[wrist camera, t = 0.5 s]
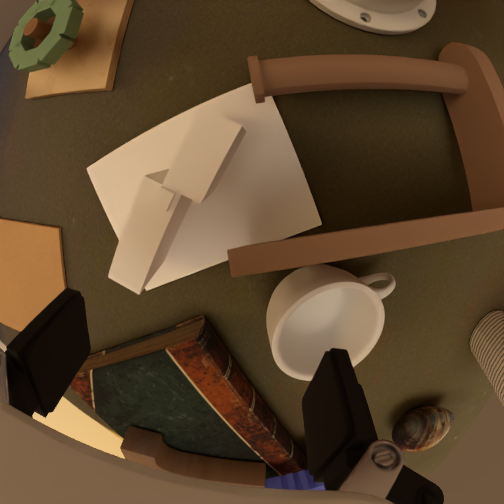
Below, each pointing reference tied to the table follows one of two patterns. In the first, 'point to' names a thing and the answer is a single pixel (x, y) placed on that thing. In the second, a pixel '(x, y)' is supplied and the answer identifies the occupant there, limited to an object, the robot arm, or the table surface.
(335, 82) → the toilet paper hanger
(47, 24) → the ring peg
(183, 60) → the table surface
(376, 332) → the teacup
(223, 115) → the napkin holder
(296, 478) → the blue perforated plate
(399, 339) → the table surface
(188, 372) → the book
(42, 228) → the cork mat
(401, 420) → the seashell
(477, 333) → the cup
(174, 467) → the wooden block
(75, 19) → the ring
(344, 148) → the table surface
